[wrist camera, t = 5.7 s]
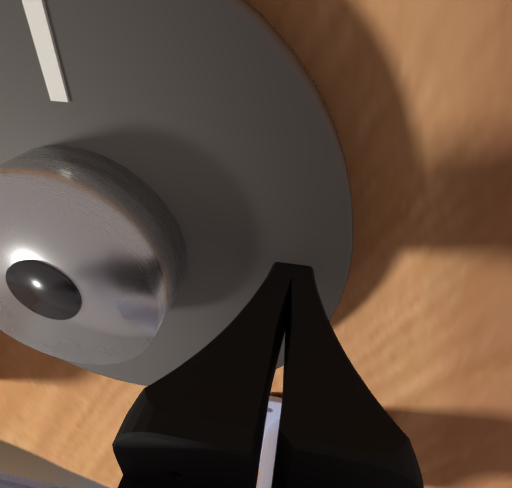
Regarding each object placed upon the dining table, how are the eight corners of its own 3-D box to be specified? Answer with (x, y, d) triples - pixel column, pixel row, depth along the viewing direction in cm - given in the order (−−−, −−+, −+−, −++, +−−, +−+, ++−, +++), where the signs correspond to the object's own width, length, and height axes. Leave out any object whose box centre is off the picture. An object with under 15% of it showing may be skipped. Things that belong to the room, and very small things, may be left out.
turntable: (315, 384, 21) (310, 479, 17) (8, 330, 23) (-61, 400, 19) (418, -73, 9) (488, -129, 5) (-222, -84, 11) (-525, -128, 7)
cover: (192, 323, 16) (166, 383, 14) (35, 295, 17) (-17, 347, 15) (180, 159, 12) (137, 204, 9) (-35, 133, 13) (-128, 167, 10)
